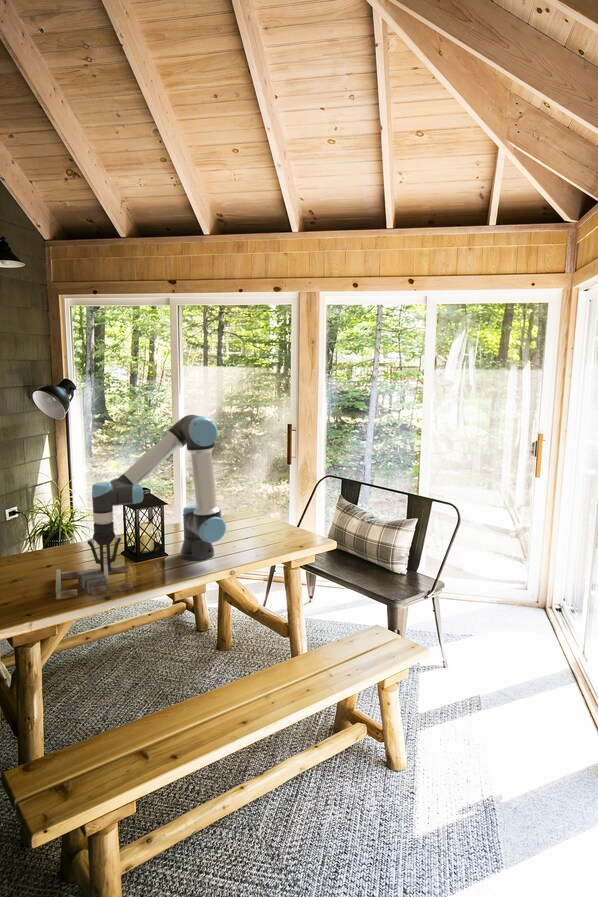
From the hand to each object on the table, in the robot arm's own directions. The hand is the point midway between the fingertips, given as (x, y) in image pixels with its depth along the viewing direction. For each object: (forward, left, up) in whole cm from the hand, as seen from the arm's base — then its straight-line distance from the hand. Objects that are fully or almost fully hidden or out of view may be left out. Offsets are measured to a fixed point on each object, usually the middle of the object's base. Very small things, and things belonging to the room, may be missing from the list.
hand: (106, 579), depth 245 cm
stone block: (+5, +2, -2) cm, 6 cm away
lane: (+4, 0, -1) cm, 4 cm away
